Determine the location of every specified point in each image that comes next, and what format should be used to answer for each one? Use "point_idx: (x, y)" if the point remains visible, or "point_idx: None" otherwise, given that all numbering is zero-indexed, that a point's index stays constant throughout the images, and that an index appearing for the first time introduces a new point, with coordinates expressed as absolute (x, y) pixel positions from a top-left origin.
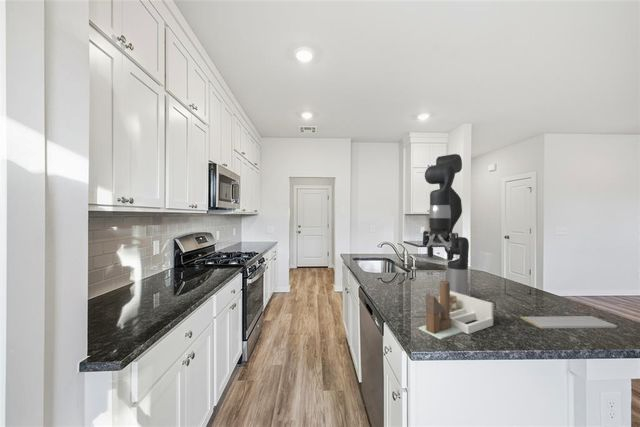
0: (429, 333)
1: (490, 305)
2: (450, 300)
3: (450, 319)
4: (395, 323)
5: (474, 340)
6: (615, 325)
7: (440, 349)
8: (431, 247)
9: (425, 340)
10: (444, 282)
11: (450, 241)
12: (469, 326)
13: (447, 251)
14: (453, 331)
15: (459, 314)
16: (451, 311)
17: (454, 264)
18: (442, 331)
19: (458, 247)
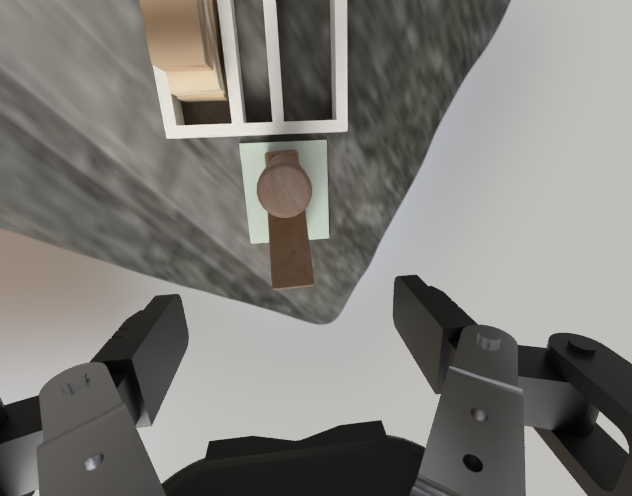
0: None
1: None
2: (204, 36)
3: (298, 157)
4: (194, 279)
5: (374, 153)
6: None
7: (360, 275)
8: (130, 388)
9: (313, 275)
10: (296, 207)
11: (520, 430)
12: (347, 123)
13: (435, 384)
14: (317, 168)
15: (233, 15)
16: (217, 46)
17: None
18: None
19: (602, 355)
